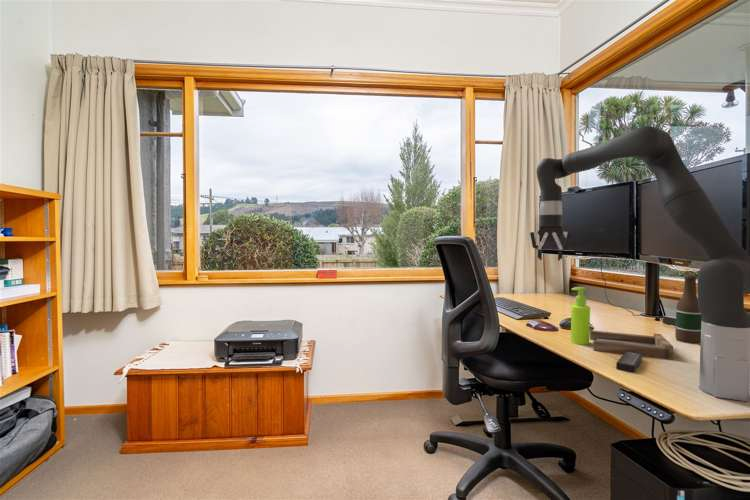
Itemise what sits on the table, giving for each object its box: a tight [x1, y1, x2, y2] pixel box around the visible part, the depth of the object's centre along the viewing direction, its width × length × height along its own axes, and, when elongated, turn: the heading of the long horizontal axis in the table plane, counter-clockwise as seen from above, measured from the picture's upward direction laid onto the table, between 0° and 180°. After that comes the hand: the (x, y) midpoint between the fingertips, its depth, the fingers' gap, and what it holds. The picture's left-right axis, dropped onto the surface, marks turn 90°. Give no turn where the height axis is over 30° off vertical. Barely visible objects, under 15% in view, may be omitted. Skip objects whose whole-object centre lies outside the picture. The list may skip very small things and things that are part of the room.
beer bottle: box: [674, 274, 702, 345], centre depth 138 cm, size 8×8×24 cm
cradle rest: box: [589, 329, 674, 360], centre depth 130 cm, size 16×22×4 cm
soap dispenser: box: [570, 286, 591, 346], centre depth 136 cm, size 6×7×20 cm
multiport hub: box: [615, 351, 643, 374], centre depth 114 cm, size 4×14×2 cm, turn 137°
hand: (549, 259), depth 140 cm, fingers open, 5 cm apart
